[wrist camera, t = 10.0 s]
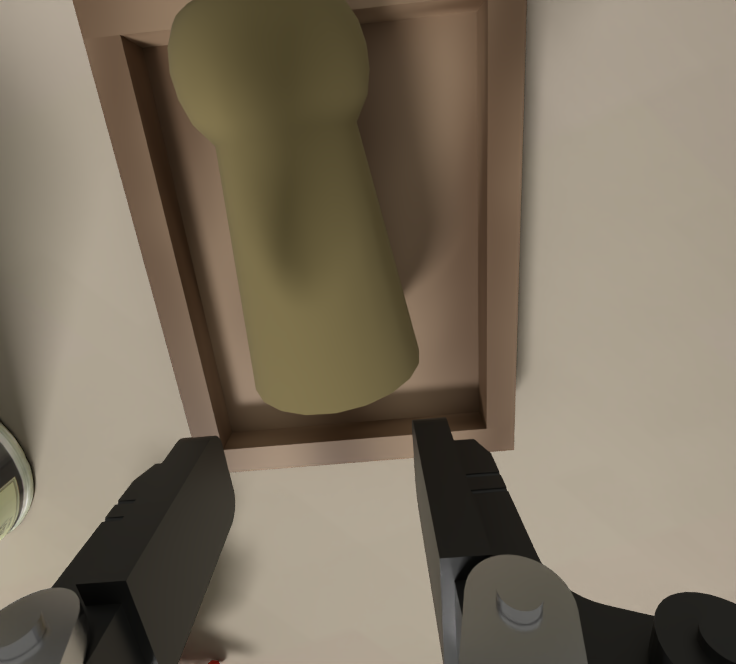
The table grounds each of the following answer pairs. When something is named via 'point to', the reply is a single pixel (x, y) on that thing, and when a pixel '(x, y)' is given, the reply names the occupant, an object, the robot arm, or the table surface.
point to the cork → (298, 196)
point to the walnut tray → (399, 210)
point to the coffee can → (13, 483)
